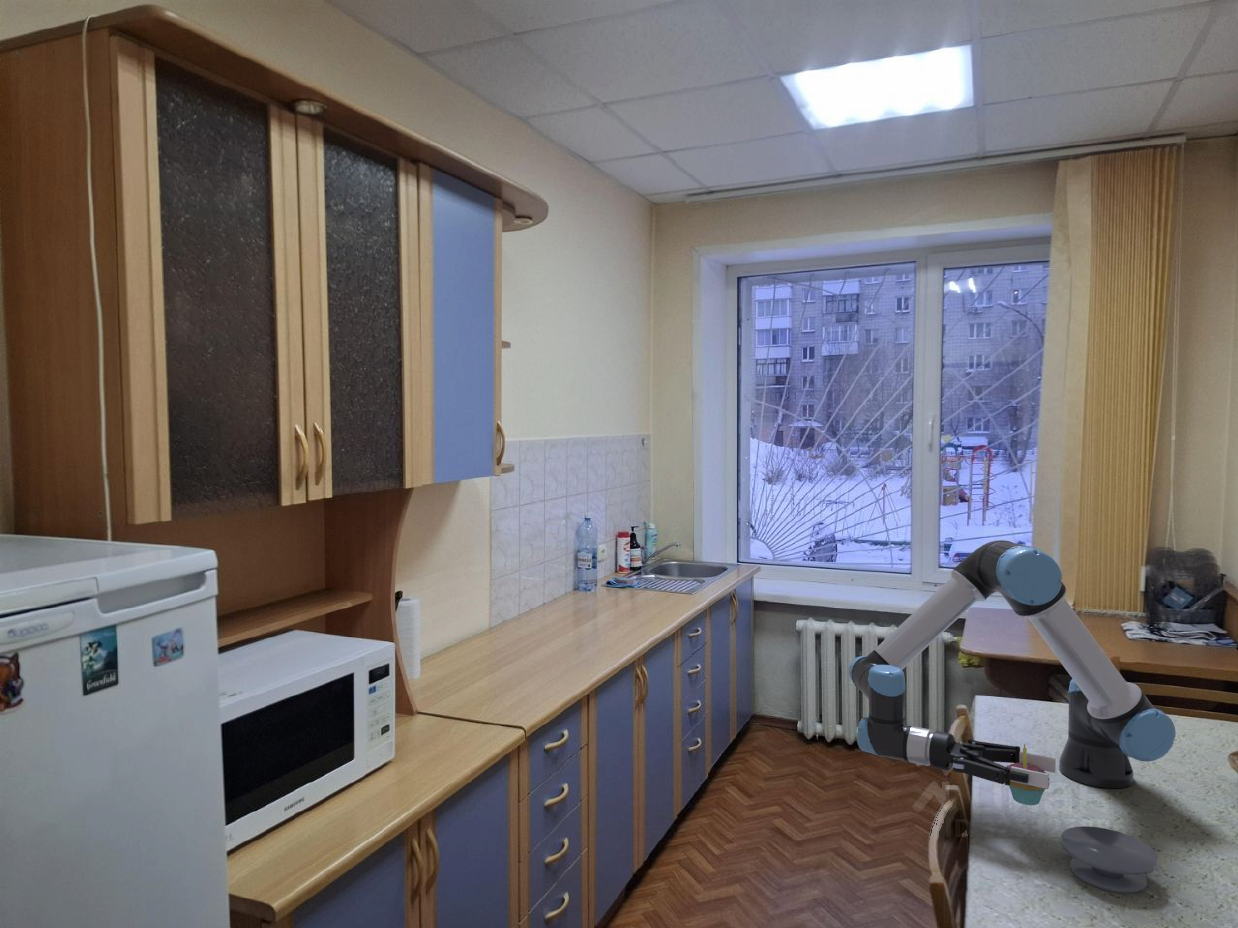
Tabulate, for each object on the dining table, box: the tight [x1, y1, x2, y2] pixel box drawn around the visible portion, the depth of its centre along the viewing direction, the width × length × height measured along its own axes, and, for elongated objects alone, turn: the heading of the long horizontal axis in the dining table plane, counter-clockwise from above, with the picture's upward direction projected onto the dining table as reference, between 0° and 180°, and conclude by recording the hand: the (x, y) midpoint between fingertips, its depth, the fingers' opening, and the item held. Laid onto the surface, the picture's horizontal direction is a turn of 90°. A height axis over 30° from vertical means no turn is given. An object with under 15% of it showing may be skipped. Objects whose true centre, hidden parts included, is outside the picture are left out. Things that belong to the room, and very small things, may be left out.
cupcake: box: [1006, 743, 1050, 806], centre depth 163 cm, size 9×8×12 cm
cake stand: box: [1061, 825, 1159, 895], centre depth 148 cm, size 15×15×5 cm
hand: (1051, 773), depth 160 cm, fingers closed on cupcake, 8 cm apart
